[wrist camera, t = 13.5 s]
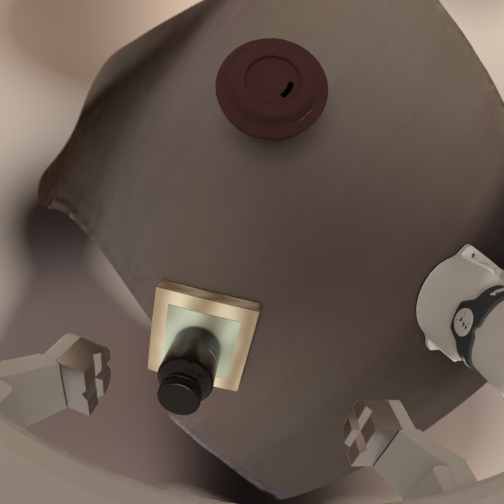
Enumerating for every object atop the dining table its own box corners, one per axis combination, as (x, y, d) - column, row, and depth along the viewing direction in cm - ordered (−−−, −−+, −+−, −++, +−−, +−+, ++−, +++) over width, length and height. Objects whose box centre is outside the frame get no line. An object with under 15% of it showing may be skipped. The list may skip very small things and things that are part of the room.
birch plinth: (259, 303, 42) (259, 312, 39) (238, 379, 46) (236, 392, 43) (162, 279, 42) (155, 287, 39) (153, 358, 45) (147, 369, 42)
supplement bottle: (231, 345, 41) (222, 402, 29) (202, 373, 42) (187, 430, 30) (191, 315, 40) (168, 365, 28) (164, 346, 41) (137, 398, 29)
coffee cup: (216, 98, 36) (194, 56, 21) (285, 70, 35) (299, 17, 20) (248, 163, 38) (243, 154, 23) (317, 134, 37) (352, 110, 22)
